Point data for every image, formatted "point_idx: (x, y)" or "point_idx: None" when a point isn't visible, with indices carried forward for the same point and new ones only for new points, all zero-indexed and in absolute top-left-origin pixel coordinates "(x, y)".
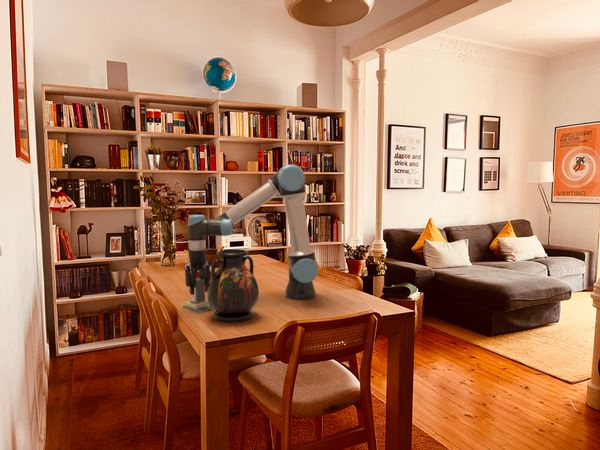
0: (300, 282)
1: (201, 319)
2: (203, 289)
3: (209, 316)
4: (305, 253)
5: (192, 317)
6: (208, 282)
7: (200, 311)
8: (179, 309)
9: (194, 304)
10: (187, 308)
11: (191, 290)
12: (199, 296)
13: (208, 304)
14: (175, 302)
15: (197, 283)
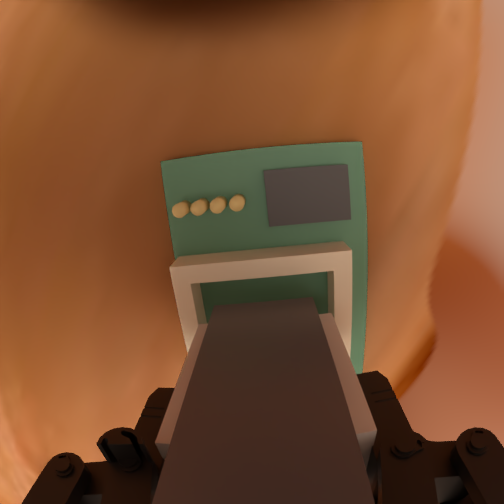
0: None
1: (430, 7)
2: (206, 388)
3: (354, 7)
4: None
5: (460, 91)
6: (69, 459)
7: (360, 143)
8: (407, 345)
9: (346, 289)
10: (362, 327)
11: (398, 416)
12: (288, 330)
13: (195, 258)
14: None
15: (357, 483)
